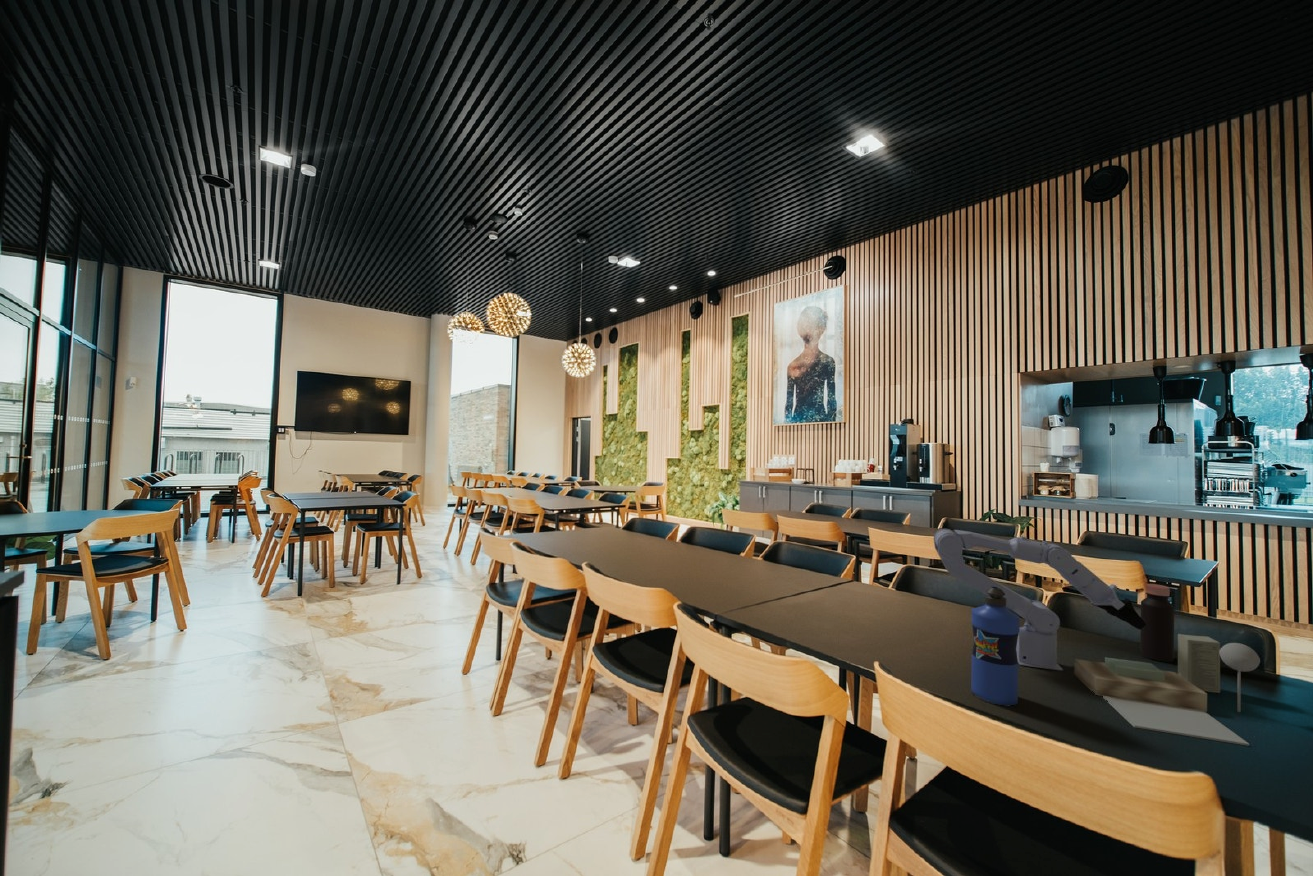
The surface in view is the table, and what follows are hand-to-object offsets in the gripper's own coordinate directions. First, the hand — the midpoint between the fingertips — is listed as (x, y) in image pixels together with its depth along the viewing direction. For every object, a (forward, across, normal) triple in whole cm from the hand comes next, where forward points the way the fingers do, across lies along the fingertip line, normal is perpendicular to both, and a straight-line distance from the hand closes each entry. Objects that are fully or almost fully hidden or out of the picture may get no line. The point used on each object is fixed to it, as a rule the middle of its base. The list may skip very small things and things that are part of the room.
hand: (1134, 622), depth 133 cm
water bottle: (-17, -26, +36) cm, 47 cm away
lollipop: (+20, -12, +2) cm, 23 cm away
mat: (+7, -23, +13) cm, 28 cm away
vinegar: (+18, +20, +1) cm, 27 cm away
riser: (+7, -10, +13) cm, 18 cm away
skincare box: (+18, 0, +2) cm, 19 cm away
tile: (+4, -9, +10) cm, 14 cm away
